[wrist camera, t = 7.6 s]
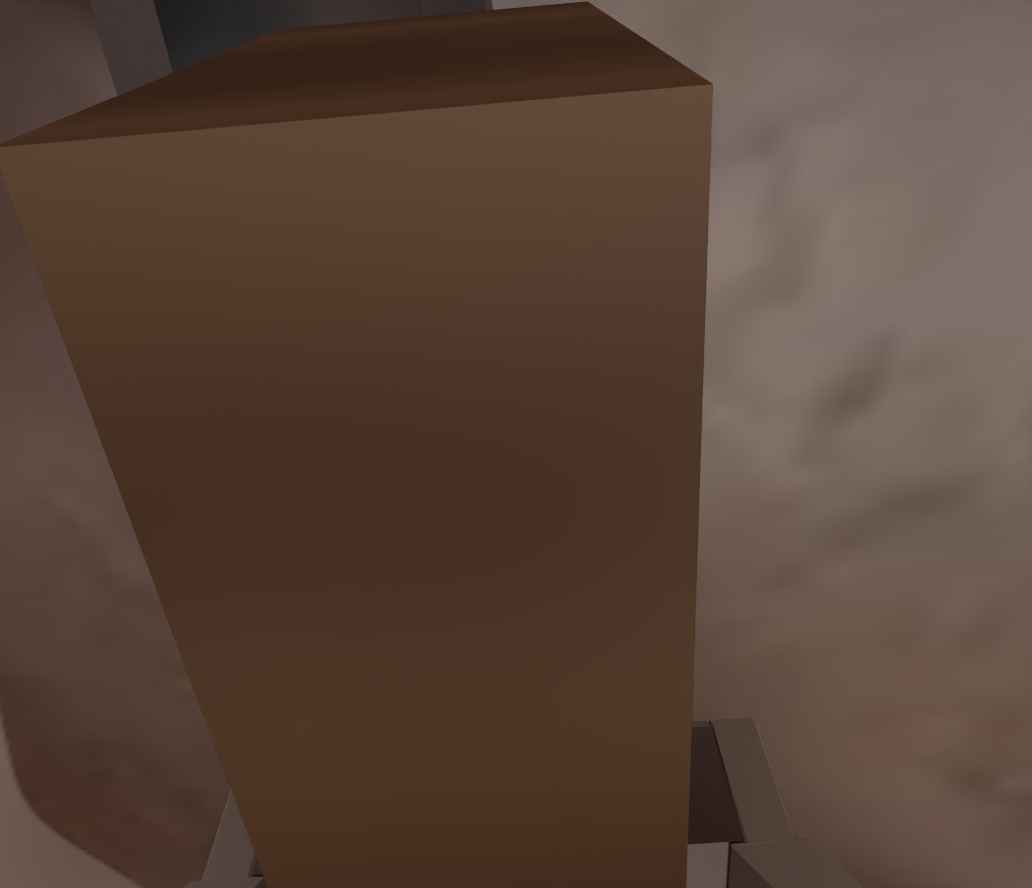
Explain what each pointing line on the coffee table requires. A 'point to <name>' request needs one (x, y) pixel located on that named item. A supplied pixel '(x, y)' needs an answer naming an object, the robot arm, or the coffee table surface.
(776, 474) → the coffee table surface
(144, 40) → the endcap
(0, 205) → the coffee table surface
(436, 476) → the slat
